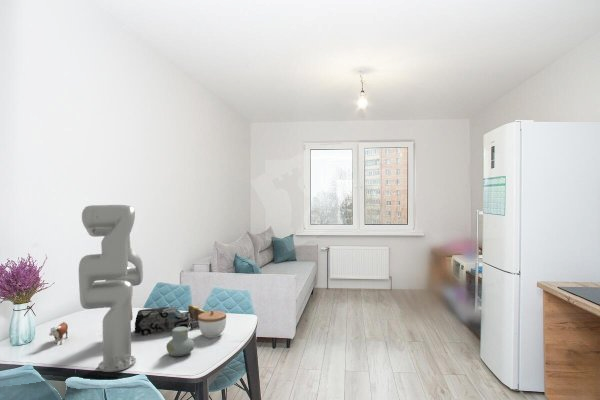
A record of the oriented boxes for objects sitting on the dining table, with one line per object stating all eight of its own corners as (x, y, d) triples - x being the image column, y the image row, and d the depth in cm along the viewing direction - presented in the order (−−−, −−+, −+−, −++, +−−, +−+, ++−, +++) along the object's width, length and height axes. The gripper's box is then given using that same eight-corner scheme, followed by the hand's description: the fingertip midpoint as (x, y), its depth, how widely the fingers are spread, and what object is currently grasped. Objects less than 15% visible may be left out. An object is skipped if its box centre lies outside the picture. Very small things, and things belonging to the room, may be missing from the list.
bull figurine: (47, 348, 160) (47, 329, 160) (60, 337, 173) (60, 319, 173) (58, 347, 161) (58, 328, 161) (71, 336, 174) (71, 318, 174)
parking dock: (209, 325, 187) (209, 312, 187) (192, 329, 181) (191, 316, 181) (192, 316, 202) (191, 304, 201) (175, 320, 196) (175, 307, 196)
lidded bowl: (212, 328, 182) (211, 305, 182) (232, 332, 176) (231, 309, 176) (192, 336, 171) (191, 312, 171) (212, 342, 165) (212, 316, 165)
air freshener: (164, 352, 154) (164, 328, 154) (183, 347, 160) (183, 323, 160) (177, 360, 146) (176, 334, 146) (196, 354, 152) (196, 329, 152)
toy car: (190, 331, 180) (190, 309, 180) (133, 337, 172) (133, 315, 172) (190, 324, 190) (190, 303, 190) (136, 329, 182) (136, 308, 182)
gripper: (137, 296, 166) (138, 336, 166) (126, 289, 179) (126, 326, 179) (119, 299, 161) (119, 340, 161) (108, 292, 174) (109, 329, 174)
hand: (123, 332), depth 170 cm, fingers open, 9 cm apart
